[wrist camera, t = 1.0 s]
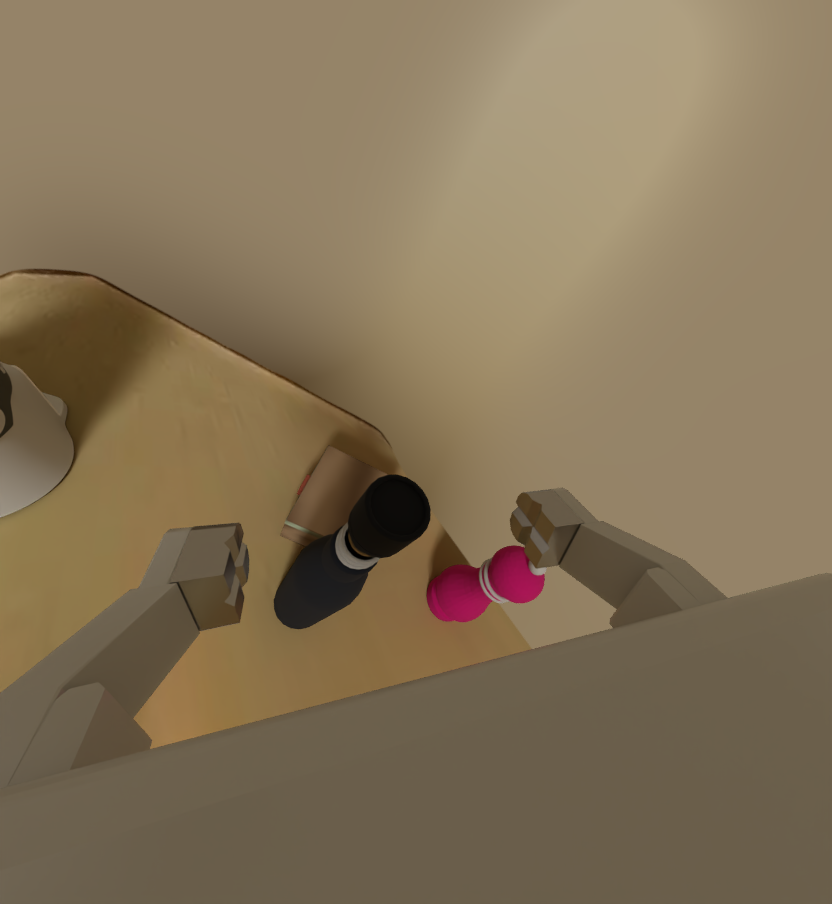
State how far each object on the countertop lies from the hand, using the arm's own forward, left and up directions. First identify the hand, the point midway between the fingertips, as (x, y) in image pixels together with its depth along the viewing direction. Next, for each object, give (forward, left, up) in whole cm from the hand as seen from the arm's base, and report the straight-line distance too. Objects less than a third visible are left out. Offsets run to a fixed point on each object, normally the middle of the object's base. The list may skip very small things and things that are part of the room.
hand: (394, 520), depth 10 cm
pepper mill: (+21, +11, -37) cm, 44 cm away
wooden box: (+2, +16, -36) cm, 40 cm away
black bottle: (+2, +4, -37) cm, 37 cm away
